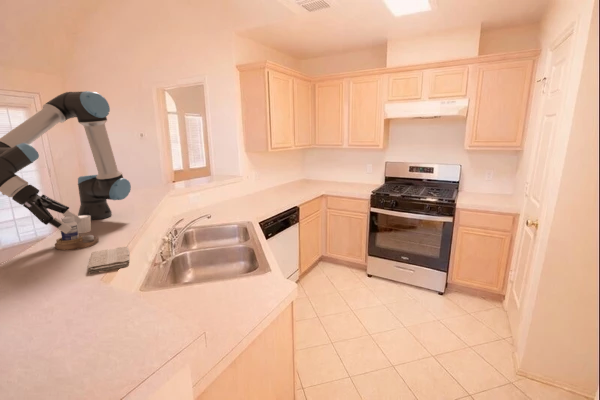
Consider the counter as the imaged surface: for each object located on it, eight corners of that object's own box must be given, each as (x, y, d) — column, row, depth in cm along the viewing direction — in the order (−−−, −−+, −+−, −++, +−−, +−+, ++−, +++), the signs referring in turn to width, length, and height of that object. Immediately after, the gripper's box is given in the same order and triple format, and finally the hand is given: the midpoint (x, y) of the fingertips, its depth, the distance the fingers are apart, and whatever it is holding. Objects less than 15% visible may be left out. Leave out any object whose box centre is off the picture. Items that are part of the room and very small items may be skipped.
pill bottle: (64, 239, 116) (60, 216, 115) (80, 238, 119) (77, 215, 117) (60, 243, 112) (57, 219, 110) (77, 241, 114) (74, 218, 112)
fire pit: (94, 236, 125) (93, 229, 125) (102, 244, 116) (101, 236, 115) (52, 243, 115) (51, 236, 115) (57, 253, 106) (56, 244, 105)
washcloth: (87, 276, 89) (86, 267, 89) (90, 257, 104) (89, 249, 103) (131, 268, 96) (130, 259, 95) (128, 251, 110) (128, 243, 110)
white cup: (82, 234, 128) (80, 218, 127) (69, 232, 129) (67, 217, 128) (96, 229, 134) (94, 215, 133) (83, 228, 136) (82, 214, 134)
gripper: (28, 192, 117) (77, 225, 126) (-8, 205, 94) (55, 243, 103) (42, 179, 118) (90, 212, 127) (11, 188, 95) (72, 227, 104)
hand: (75, 226), depth 115 cm, fingers open, 13 cm apart
